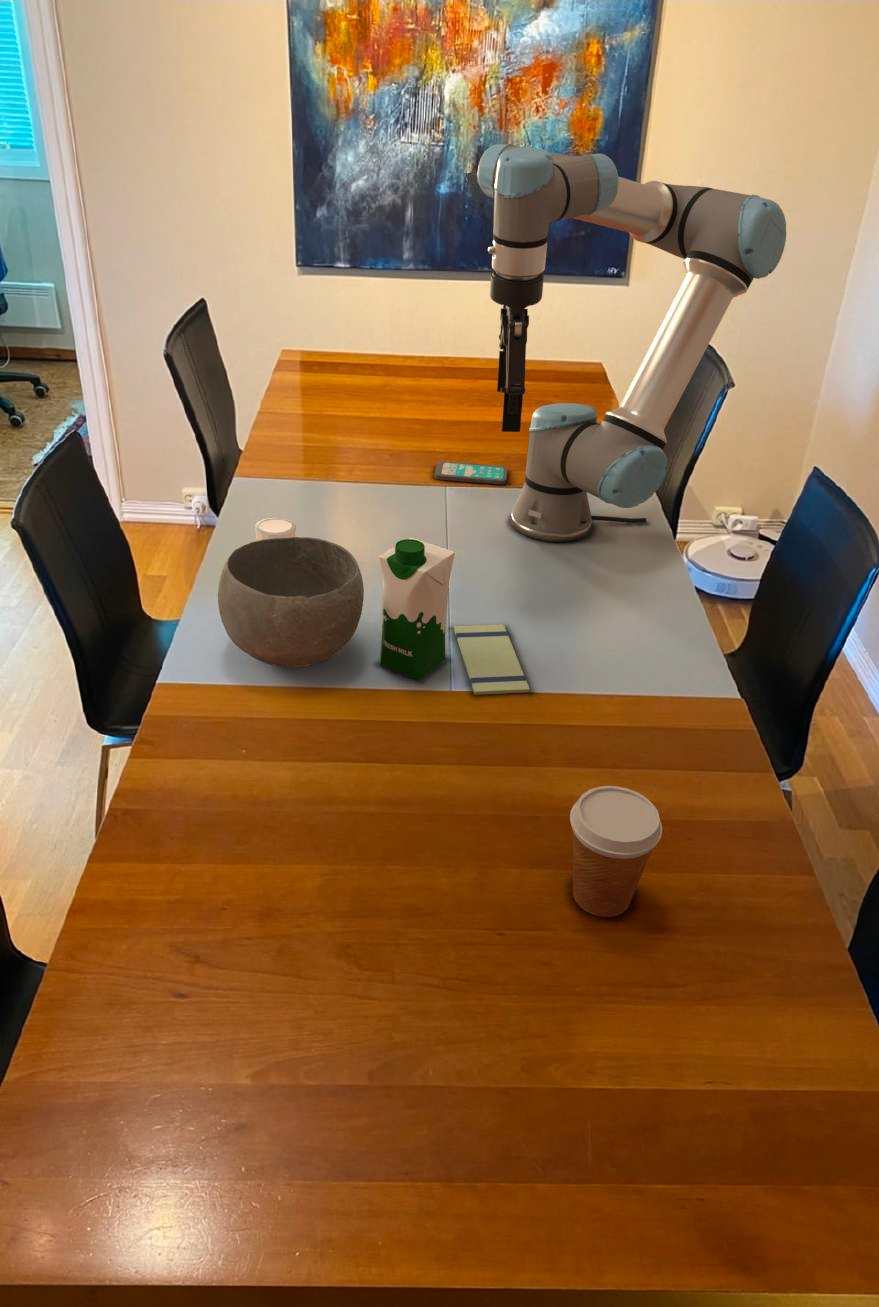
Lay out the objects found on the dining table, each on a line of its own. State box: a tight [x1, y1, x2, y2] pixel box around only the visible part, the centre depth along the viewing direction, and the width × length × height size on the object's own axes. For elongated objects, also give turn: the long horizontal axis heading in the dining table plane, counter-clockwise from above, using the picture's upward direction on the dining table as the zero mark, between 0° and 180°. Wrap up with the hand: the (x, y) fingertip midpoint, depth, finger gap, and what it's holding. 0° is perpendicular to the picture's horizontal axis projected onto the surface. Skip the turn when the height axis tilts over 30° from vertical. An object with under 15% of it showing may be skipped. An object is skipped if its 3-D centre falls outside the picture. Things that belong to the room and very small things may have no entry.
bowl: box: [217, 536, 365, 668], centre depth 142 cm, size 20×20×15 cm
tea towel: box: [453, 623, 531, 696], centre depth 147 cm, size 8×18×1 cm, turn 9°
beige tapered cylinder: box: [254, 517, 297, 541], centre depth 168 cm, size 7×7×7 cm
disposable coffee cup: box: [569, 785, 663, 918], centre depth 105 cm, size 10×10×12 cm
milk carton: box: [379, 537, 456, 682], centre depth 140 cm, size 9×9×20 cm
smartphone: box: [433, 461, 508, 485], centre depth 207 cm, size 9×1×15 cm
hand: (508, 410), depth 153 cm, fingers open, 13 cm apart
